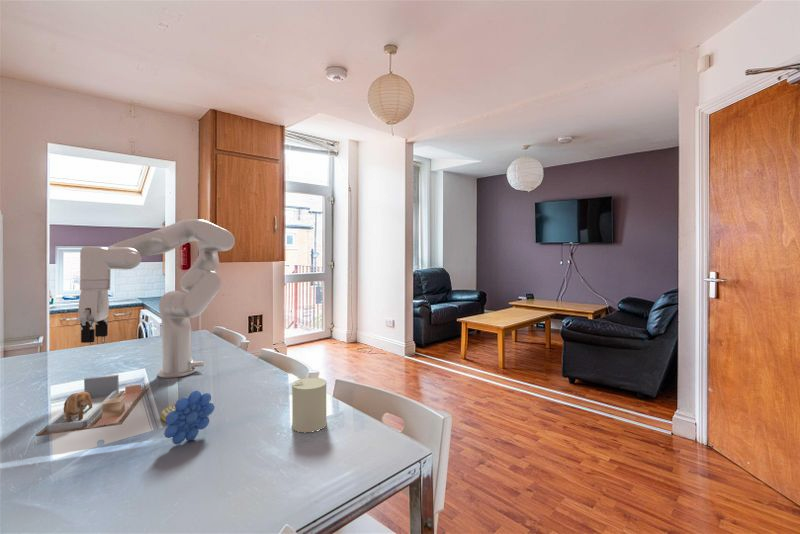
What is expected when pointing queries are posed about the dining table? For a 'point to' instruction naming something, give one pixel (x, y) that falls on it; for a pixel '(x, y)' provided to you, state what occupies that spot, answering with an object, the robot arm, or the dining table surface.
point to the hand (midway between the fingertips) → (94, 339)
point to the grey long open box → (95, 389)
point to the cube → (113, 407)
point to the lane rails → (100, 417)
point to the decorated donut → (167, 411)
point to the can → (309, 404)
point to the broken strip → (130, 396)
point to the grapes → (189, 417)
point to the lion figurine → (76, 405)
